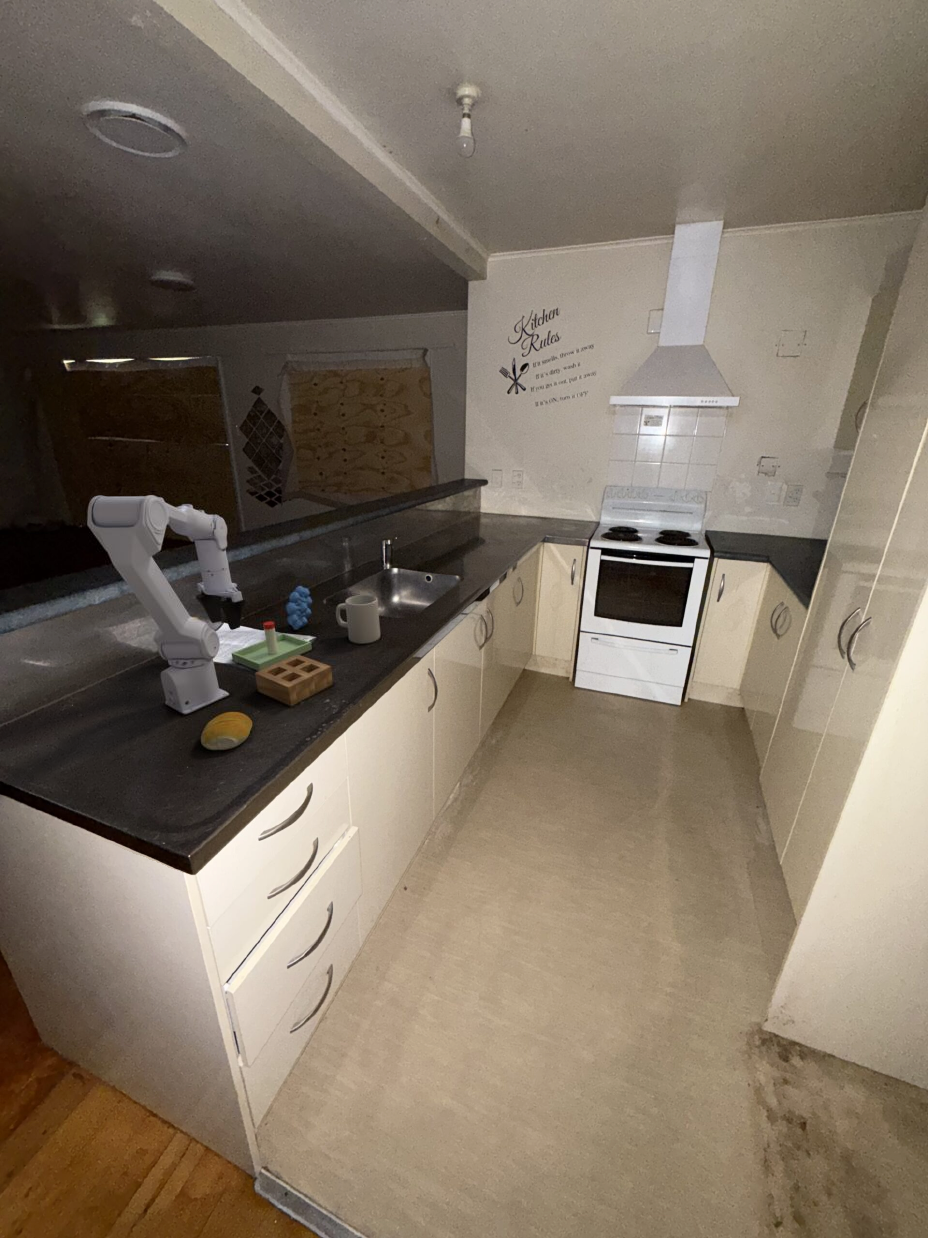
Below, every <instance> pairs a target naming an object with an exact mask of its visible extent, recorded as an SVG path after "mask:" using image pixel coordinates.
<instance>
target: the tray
mask: <svg viewBox="0 0 928 1238" xmlns="http://www.w3.org/2000/svg"><path fill="white" fill-rule="evenodd" d="M276 640H277V647H278V653H277V654H273V655H270V654H268V649H267V643H266V639H264V640H262V641H259V642H256V643H253V644H251V645H249V646H245V647H243V648H241V649H238V650H236V651H233V652H231V658H232V659H231V660H232V661H233V662H236V663H238V664H240V665H243V666H245V667H247V668H249V669H250V668H251V669H253V670H255V671H257V672H259V671H261V670H263V669H265V668H268V667H270V666H272V665H275V664H277V663H279V662H281V661H284V660H286V659H288V658H291V657H293V656H295V655H302V654H304V653H307V652H309V651H311V650H313V645H312V642H311V641H309V640H305V639H303V638H300V637H296V636H293V635H291V634H288V633H284V632H282V633H280V634H276Z"/></svg>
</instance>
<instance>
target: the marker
mask: <svg viewBox="0 0 928 1238" xmlns="http://www.w3.org/2000/svg"><path fill="white" fill-rule="evenodd" d="M262 626H263V631H264V636H265V640H266V643H267V649H268V654H270V655H273V654H277V653H278V647H277V640H276V636H277V634H276V628H275V622H274V621H265V622H263V624H262Z"/></svg>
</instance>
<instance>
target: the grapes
mask: <svg viewBox="0 0 928 1238" xmlns="http://www.w3.org/2000/svg"><path fill="white" fill-rule="evenodd" d="M310 594H311V592H310V589H308V588H307V587H304V586H302V585H298V586H296V587H295V589H294V591H292V592H291V593H290V594H289V596H288V599H289V602H288V603H287V604H286V605H285V611H286V612H287V614H289V615H288V616H287V618H286V620H287V624H289V625H290V626H291V627H292V629H293V630H295V631H299V630H300V629H301V628H304V627H305V626H306V625H307V624H308V620H307V619H308V618H309V617H310V616H311V615H312V611H311V609H310V606H311V605H312V604H313V600H312V598H311V596H310Z"/></svg>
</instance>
